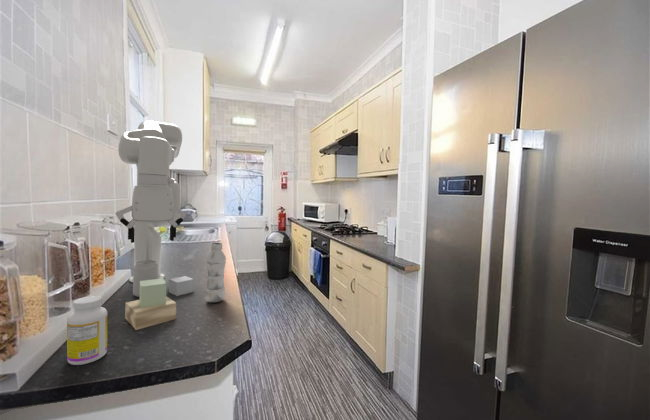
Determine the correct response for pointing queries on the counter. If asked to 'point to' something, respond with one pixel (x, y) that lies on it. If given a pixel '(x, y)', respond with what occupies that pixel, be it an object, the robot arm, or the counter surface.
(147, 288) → the sage-green block
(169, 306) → the beech block
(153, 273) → the can
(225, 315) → the counter surface
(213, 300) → the plastic bottle
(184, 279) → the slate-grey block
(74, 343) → the supplement bottle
